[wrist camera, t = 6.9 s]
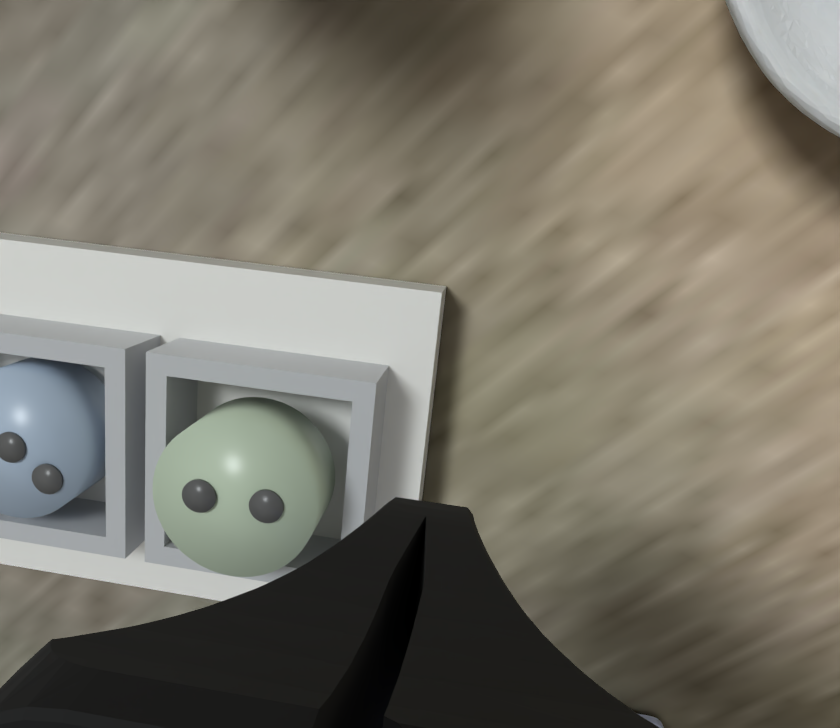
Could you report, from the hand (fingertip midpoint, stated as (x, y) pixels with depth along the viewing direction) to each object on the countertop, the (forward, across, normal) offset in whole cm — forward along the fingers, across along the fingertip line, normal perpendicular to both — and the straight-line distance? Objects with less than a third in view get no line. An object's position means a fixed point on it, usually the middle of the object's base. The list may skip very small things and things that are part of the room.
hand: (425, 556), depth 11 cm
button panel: (+10, +12, +2) cm, 16 cm away
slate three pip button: (+9, +12, +2) cm, 15 cm away
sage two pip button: (+7, +5, +2) cm, 9 cm away
